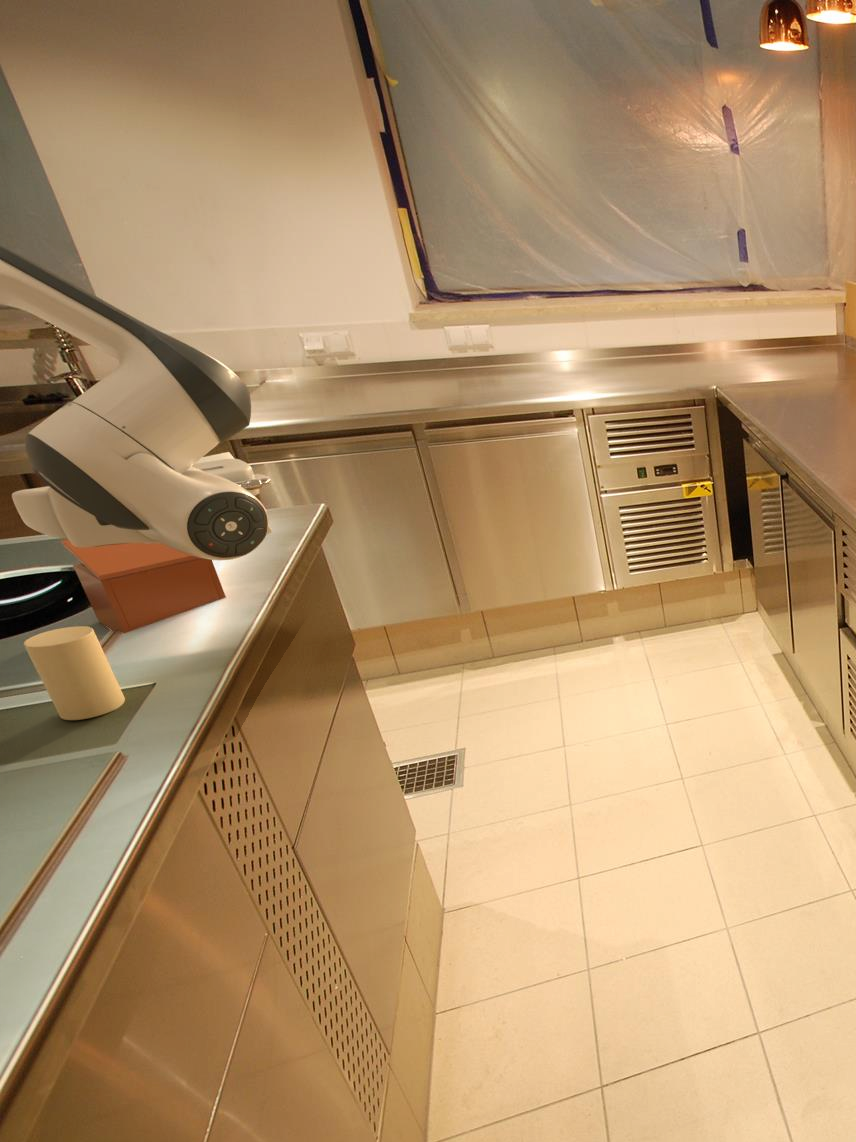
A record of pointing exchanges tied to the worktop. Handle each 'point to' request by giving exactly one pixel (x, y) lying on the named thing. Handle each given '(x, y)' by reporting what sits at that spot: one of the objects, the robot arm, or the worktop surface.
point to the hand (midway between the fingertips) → (121, 481)
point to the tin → (150, 593)
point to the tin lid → (126, 558)
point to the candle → (75, 672)
